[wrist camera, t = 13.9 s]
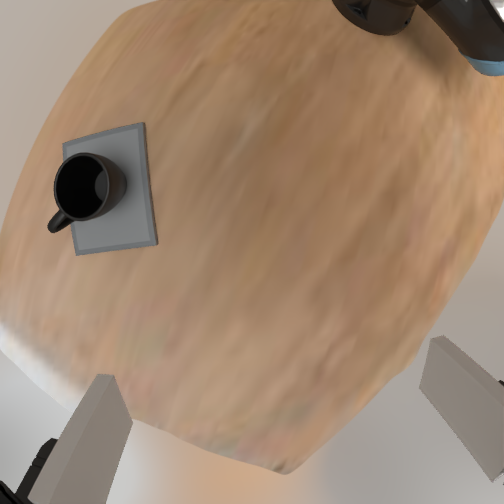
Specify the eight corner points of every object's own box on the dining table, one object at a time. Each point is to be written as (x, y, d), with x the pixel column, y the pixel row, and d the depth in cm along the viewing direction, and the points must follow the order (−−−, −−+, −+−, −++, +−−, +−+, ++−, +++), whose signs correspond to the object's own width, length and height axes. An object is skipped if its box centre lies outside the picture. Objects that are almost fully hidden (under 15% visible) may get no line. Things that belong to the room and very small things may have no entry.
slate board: (66, 144, 38) (62, 143, 37) (145, 123, 39) (142, 122, 37) (79, 253, 42) (75, 255, 41) (158, 243, 43) (156, 245, 41)
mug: (63, 200, 39) (27, 206, 30) (114, 146, 38) (85, 137, 28) (92, 240, 41) (60, 255, 31) (146, 187, 39) (122, 189, 30)
